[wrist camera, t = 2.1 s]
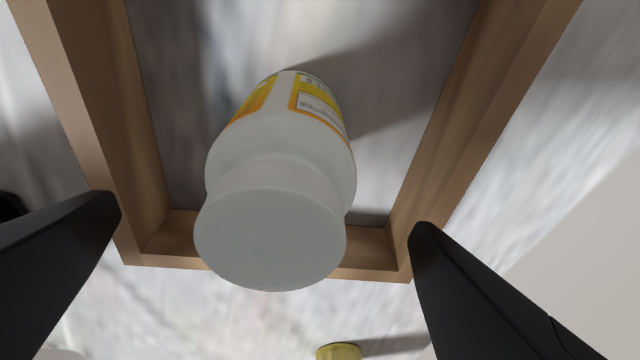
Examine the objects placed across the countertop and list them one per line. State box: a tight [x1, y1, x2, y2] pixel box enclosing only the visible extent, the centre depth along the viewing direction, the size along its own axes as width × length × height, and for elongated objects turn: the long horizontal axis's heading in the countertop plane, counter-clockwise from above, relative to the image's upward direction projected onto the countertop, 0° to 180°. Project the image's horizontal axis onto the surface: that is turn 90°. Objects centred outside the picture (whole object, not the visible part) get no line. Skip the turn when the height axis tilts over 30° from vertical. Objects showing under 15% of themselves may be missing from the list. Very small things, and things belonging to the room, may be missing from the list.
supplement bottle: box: [193, 71, 357, 292], centre depth 10 cm, size 5×5×10 cm
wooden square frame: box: [6, 0, 583, 284], centre depth 13 cm, size 18×18×4 cm
